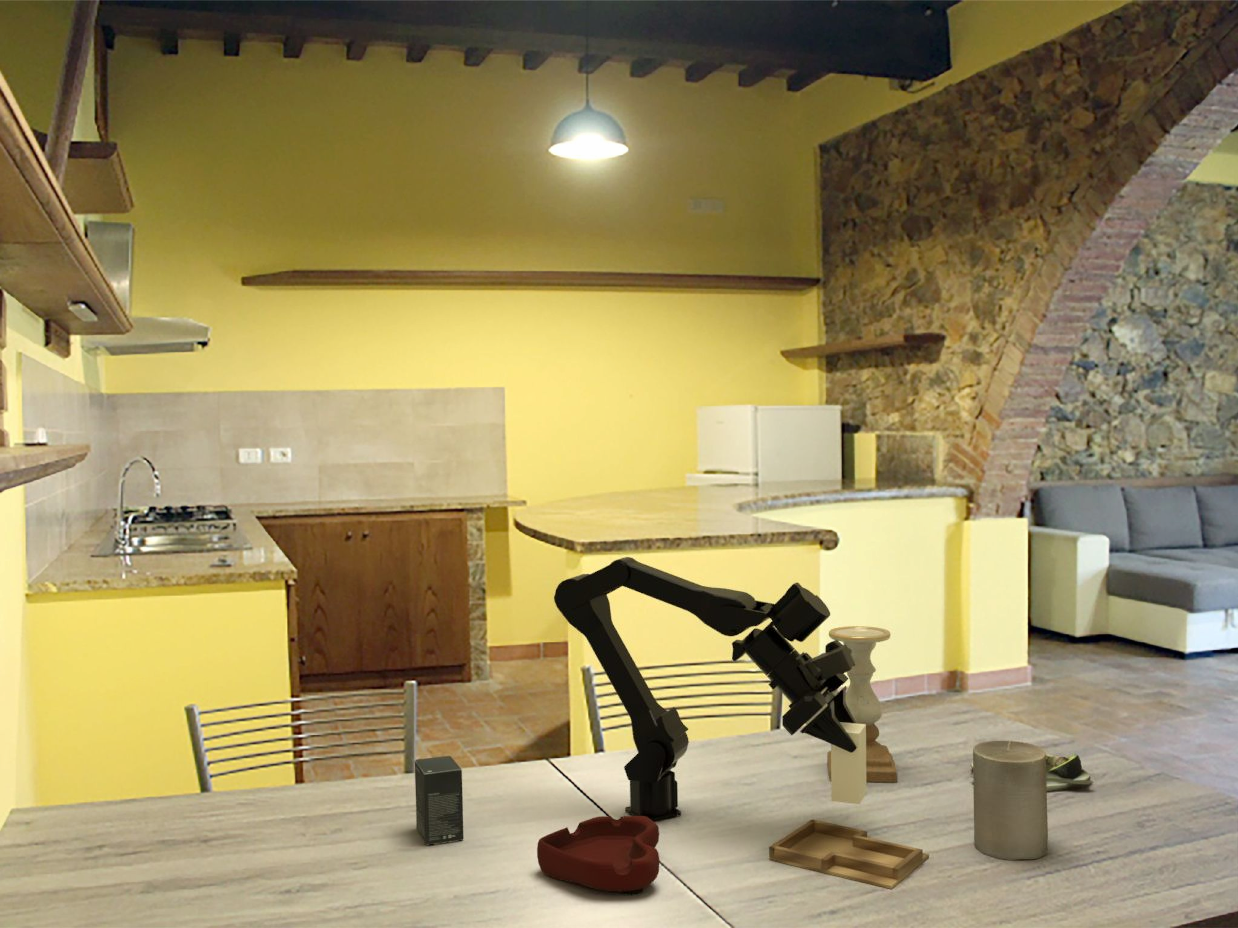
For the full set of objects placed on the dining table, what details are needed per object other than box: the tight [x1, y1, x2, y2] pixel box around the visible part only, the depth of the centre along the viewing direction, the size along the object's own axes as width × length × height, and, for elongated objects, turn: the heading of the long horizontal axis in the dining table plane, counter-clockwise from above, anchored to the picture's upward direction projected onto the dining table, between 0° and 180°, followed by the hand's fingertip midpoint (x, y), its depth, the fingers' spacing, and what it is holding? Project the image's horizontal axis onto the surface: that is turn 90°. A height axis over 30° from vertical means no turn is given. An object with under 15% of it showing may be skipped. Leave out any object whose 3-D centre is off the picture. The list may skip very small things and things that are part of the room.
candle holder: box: [826, 625, 898, 784], centre depth 193 cm, size 11×11×24 cm
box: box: [414, 755, 464, 846], centre depth 168 cm, size 8×6×11 cm
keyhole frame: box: [768, 819, 930, 890], centre depth 156 cm, size 18×13×2 cm
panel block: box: [830, 722, 867, 805], centre depth 163 cm, size 4×5×10 cm
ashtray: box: [536, 815, 660, 896], centre depth 153 cm, size 18×16×5 cm
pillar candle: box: [972, 740, 1049, 861], centre depth 158 cm, size 10×10×15 cm
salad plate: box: [969, 753, 1094, 792], centre depth 188 cm, size 19×18×5 cm
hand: (858, 745), depth 163 cm, fingers closed on panel block, 5 cm apart
